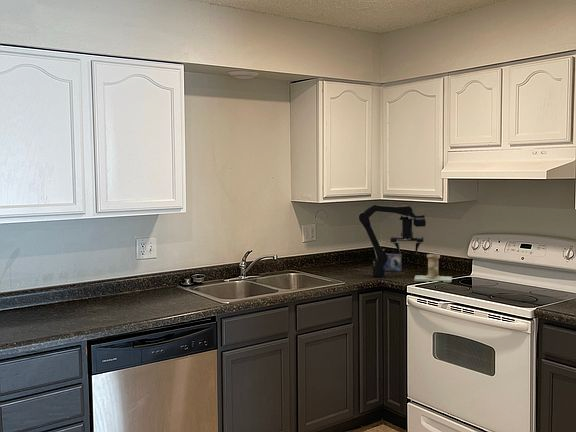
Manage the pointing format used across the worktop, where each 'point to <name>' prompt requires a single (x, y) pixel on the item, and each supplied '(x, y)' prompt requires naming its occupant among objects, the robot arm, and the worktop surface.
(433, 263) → the tan turned knob
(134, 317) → the worktop surface
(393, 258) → the small box
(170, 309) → the worktop surface
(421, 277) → the board
